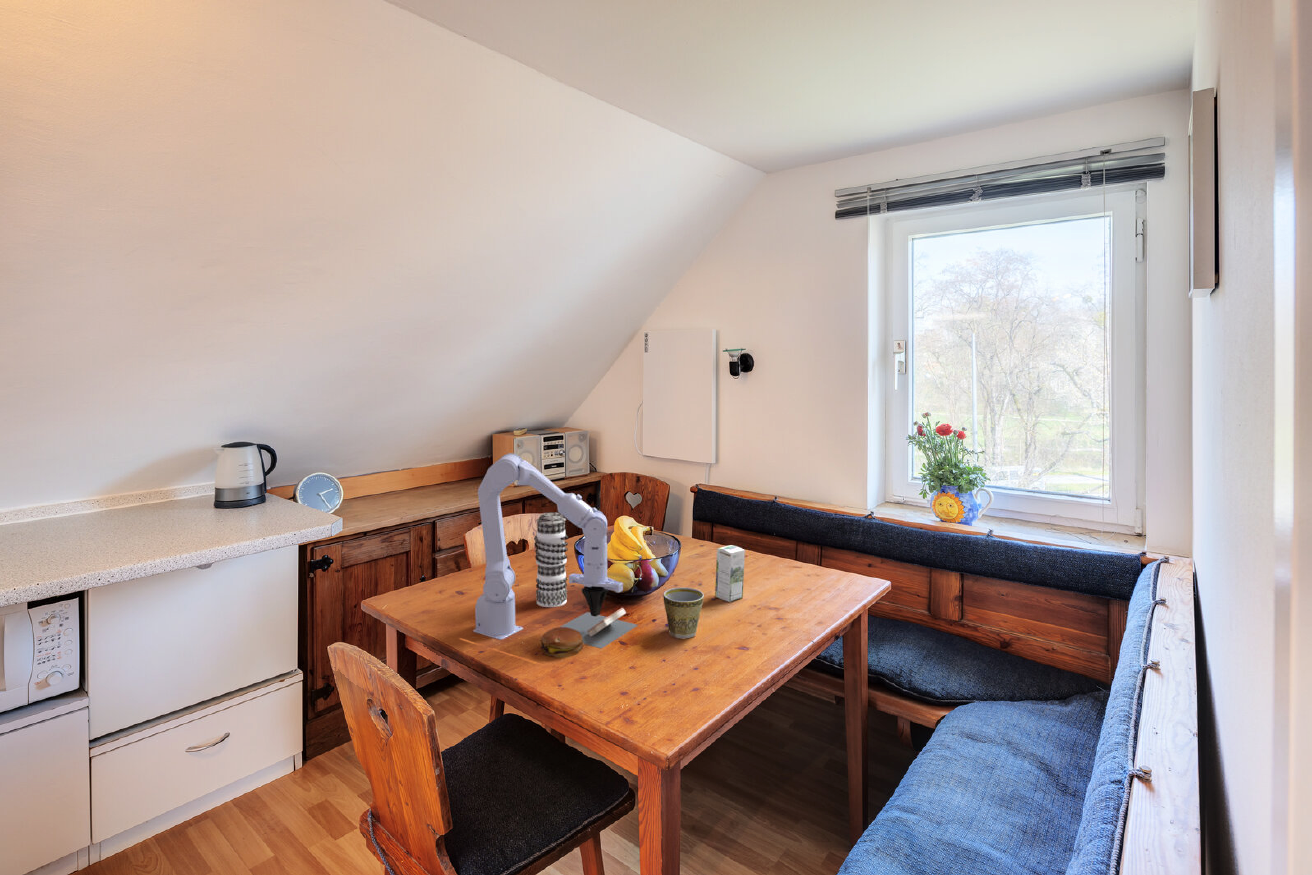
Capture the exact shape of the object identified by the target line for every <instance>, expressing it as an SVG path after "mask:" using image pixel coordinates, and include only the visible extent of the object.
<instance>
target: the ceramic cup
mask: <svg viewBox="0 0 1312 875" xmlns="http://www.w3.org/2000/svg"><path fill="white" fill-rule="evenodd" d="M662 596H663V603H664V610H665V613H666V620H667V628H668V632H669V635H670V636H672V637H674V638H676V639H683V640H687V639H690V638H693V637H695V636H696V634H697V629H698V625H699V620H700V614H701V611H702V608H703V604H704V598H705V597H704V596H705V595H704V593H703V592H702V591H701V590H699V589H695V588H692V587H673V588H669V589H667V590H665V591H664V592H663V594H662ZM686 638H687V639H686Z"/></svg>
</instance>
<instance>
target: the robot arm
mask: <svg viewBox="0 0 1312 875" xmlns="http://www.w3.org/2000/svg"><path fill="white" fill-rule="evenodd" d="M516 481H517V484H516V485H517V486H530V487H531V488H533V489H535V490H536V491H537V492H539V493H541V494H542V495H543V496H545V497H546V498H547V499H548V500H550V501H552V502H553V503H555V504H556V506H557V513H560V514H561V515H562V516H563V518H565V519H566V520H568V521H569V522H571V523H572V524H573V525H575V526H576V527H577V528H580V529H582V534H583V535H584V543H583V574H582V573H575V572H574V573H572V574H569V575H568V583H569V584H577V585H578V584H579V585H583V588H582V589H581V593H582V594H583V596H584V598H585V600H586V603H587V605H588V608H589V613H591V616H595V617H596V616H598V615H601V609H602V606H603V604H604V600H605V597H606V596H607V593H609V591H613V592H615V593H621V592H623V590H624V582H621V581H618V580H615V579H612V578H610V577H608V543H607V541H608V536H607V533H608V520H607V517H606V515H604V513H603V512H602V511H600V510H598V508H596V507H591V506H590V505H589V504H587V503H586V501H583V499H582V498H583V497H582V495H580V494H579V493H578V494H577V495H576V494H575V493H573V492H571V493H567V492H566V493H565V492H564V491H563V490H562V489H561V488H559V487H558V486H557V485H556V484H554V483H553V482H552V481H551V480H550V479H549V478H548V477H546V476H545V475H544V474H543V473H542V472H541V471H539V470H538V468H536V467H534V465H532V464H531V463H530V462H528V461H527V460H525V459H522V458H521V456H519V455H518V454H516V453H513V452H512V453H506V454H504V455H502V456H501V457H500V458H499V459H498V460H496V461H495V462H494V463H493V464H492V465H491V466H489V467H488V469H487V471H486V473H485V475H484V477H483V479H482V481H481V483H480V484H479V487H478V489H477V496H478V503H479V504H478V505H479V513H480V520H481V522H480V523H481V529H482V536H483V545H484V552H485V560H486V563H485V564H486V565H485V571H484V574H485V580H484V583H483V588H482V590H483V592H482V593H483V594H481V595H480V596H479V597H477V600H476V602H475V609H474V610H475V612H474V613H475V629H473V632H474V633H476V634H481V635H483V636H487V637H489V638H493V639H496V640H499V641H502V640H504V639H507V638H508V637H510V636H512V635H514V634H516V633H518V632H520V631H521V630H523V629H524V627H523V626H519V625H516V595H515V592H514V591H513V588H512V586H514V584H515V582H516V573H515V571H514V569H513V568H512V567H511V563H510V562H511V561H510V559H509V557H508V554H507V553H508V552H507V546H506V539H505V537H506V536H505V530H504V528H505V527H504V522H503V512H502V506H501V497H500V495H501V493H502V492H503V491H504V490H505V488H507V487H508V486H510V485H513V483H515V482H516Z"/></svg>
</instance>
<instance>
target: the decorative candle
mask: <svg viewBox="0 0 1312 875" xmlns="http://www.w3.org/2000/svg"><path fill="white" fill-rule="evenodd" d="M535 521H536V523H537V526H536V535H534V538H533V540H534V541H535V542H534V547H535V550H534V553H535V555H534V558H535V564H537V572H536V579H535V583H536V585H535V587H536V591H535V594H536V596H535V599H536V604H537V605H538V606H540V607H545V608H555V607H562V606H564V605H565V604H566V603H568V602H567V601H568V600H567V598H568V594H567V593H568V589H567V587H568V583H567V581H568V577H567V573H566V572H567V571H566V563H567V560H568V559H567V558H568V555H567V554H565V553H566V552H567V551H568V550H569V549H568V548H567V546H569V545H568V542H567V541H566V540H567V539H568V538H569V536H568V535H567V534H566V525H565V524H566V521H567V518H566V517H564V516H563V515H562V514H560V513H559V512H544V513H541V514H540V515H539V517H538V518H537V519H536V520H535Z"/></svg>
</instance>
